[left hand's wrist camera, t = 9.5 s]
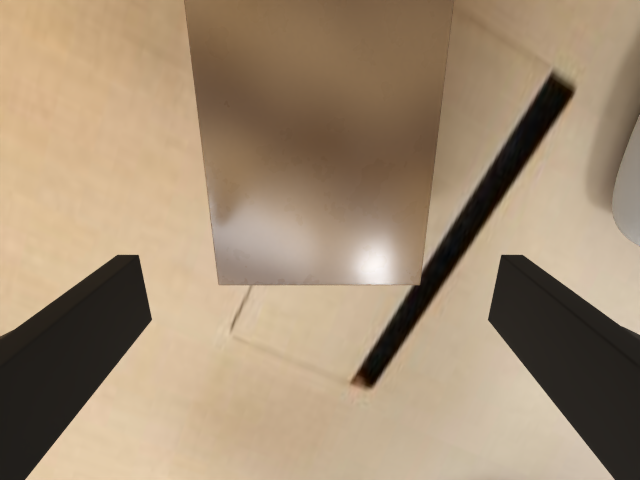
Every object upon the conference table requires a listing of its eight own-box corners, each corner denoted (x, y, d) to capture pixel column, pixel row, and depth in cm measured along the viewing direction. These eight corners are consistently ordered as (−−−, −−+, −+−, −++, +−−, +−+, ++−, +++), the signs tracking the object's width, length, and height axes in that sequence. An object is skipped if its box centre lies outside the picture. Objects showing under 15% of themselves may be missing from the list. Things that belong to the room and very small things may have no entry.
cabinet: (235, -23, 23) (168, -127, 13) (402, -23, 23) (469, -127, 13) (253, 222, 29) (218, 285, 19) (384, 222, 29) (420, 285, 19)
